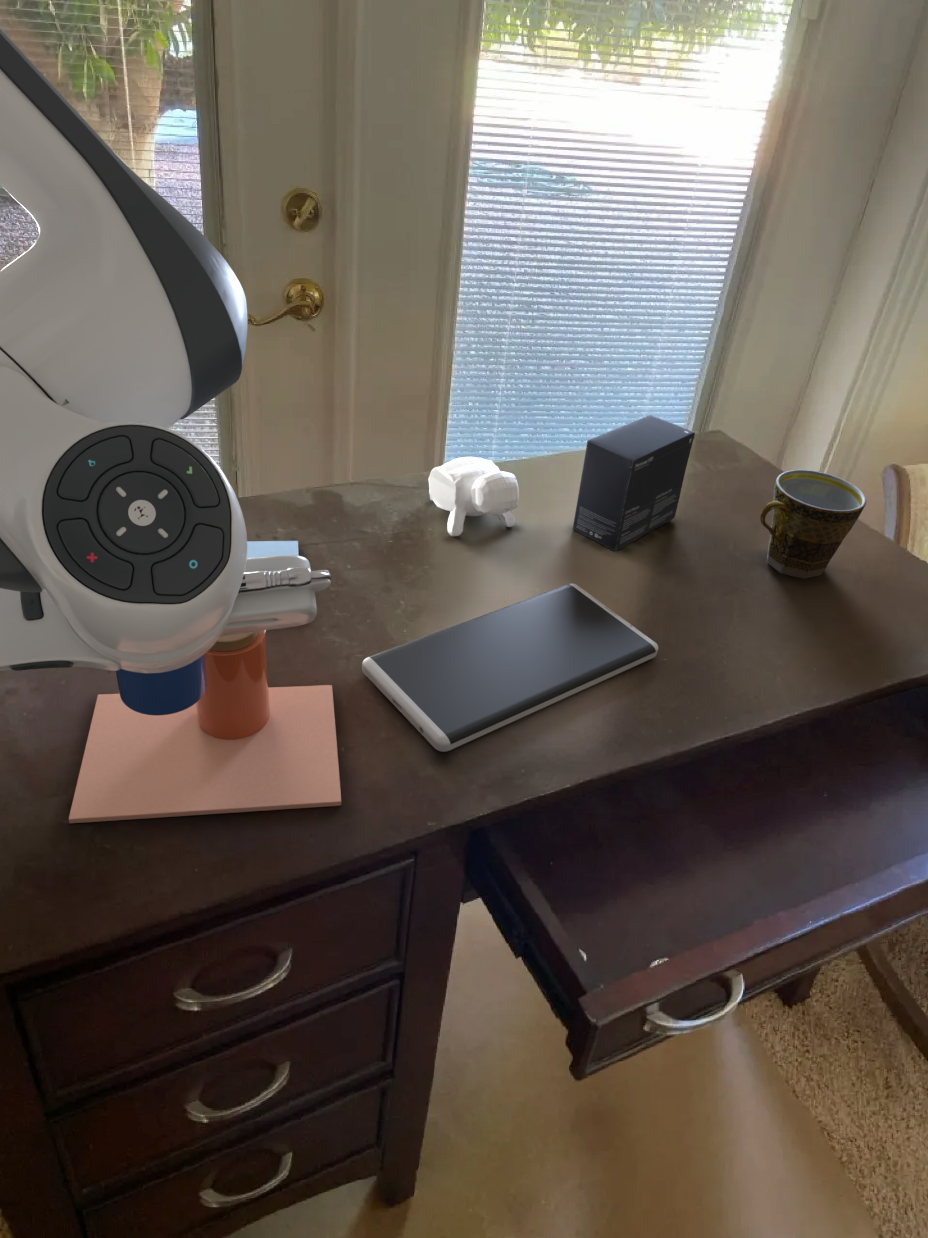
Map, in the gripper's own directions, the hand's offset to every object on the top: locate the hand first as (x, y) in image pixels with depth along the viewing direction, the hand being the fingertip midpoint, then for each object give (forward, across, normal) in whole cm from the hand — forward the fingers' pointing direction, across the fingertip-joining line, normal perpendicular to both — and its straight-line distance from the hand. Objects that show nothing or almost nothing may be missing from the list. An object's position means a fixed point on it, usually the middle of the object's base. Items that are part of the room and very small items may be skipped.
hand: (155, 628), depth 62 cm
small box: (+31, -56, -11) cm, 65 cm away
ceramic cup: (+22, -71, -2) cm, 75 cm away
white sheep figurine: (+34, -38, -14) cm, 53 cm away
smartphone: (+15, -32, +6) cm, 36 cm away
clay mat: (+12, -3, +9) cm, 15 cm away
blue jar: (+3, 0, +4) cm, 5 cm away
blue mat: (+30, -5, -9) cm, 32 cm away
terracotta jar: (+14, -5, +6) cm, 16 cm away
